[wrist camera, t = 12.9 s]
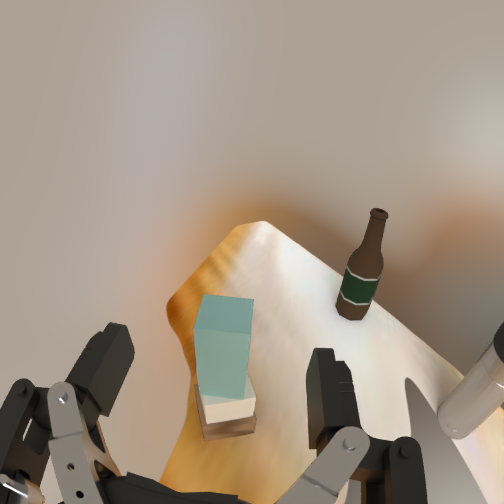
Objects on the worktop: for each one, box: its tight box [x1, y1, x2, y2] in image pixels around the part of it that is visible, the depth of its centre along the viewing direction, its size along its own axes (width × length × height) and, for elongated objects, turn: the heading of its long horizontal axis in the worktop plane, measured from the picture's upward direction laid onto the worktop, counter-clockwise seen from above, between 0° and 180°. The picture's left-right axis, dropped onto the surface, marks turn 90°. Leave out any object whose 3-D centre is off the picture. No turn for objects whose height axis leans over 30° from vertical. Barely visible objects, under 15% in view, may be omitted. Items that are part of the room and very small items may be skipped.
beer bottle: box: [336, 208, 388, 320], centre depth 54 cm, size 8×8×24 cm
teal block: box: [193, 294, 254, 400], centre depth 28 cm, size 5×5×11 cm
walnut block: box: [194, 384, 257, 441], centre depth 34 cm, size 7×7×5 cm
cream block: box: [196, 366, 256, 424], centre depth 31 cm, size 6×6×5 cm
